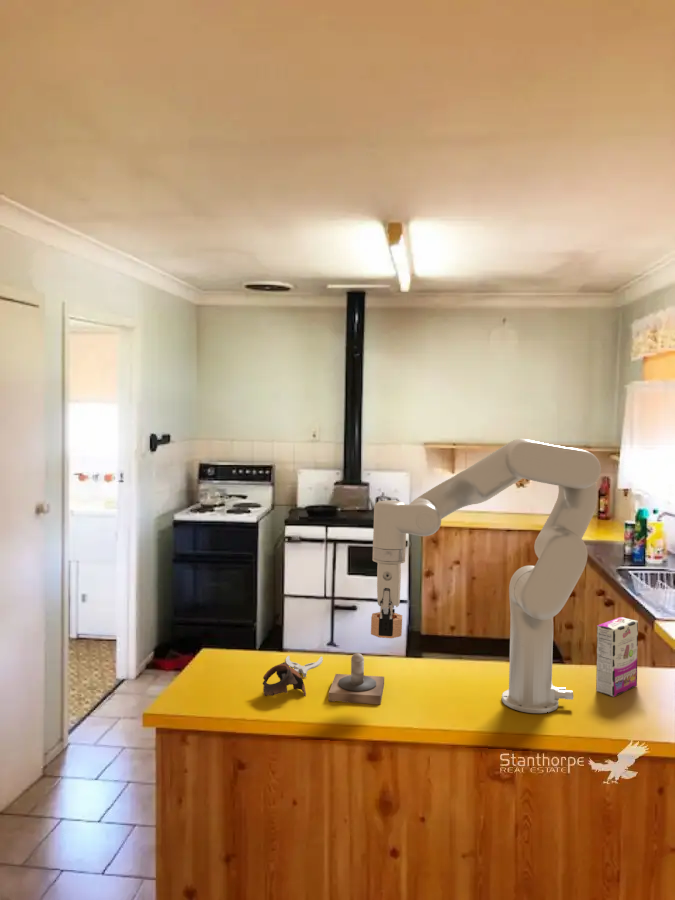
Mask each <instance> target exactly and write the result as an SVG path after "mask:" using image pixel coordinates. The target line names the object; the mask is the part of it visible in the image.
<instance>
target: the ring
mask: <svg viewBox="0 0 675 900" xmlns="http://www.w3.org/2000/svg"><path fill="white" fill-rule="evenodd" d="M379 618H380V611H379V612H373V613H372V614H371V616H370V619H371V621H370V635H372V636H374V637H377V638H382V639H384V638H385V639H395V638H400V637H402V634H403V615H402V614H399V613H396V612H395V613H394V612H392V618H393V635H392V636H379Z"/></svg>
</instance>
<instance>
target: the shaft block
mask: <svg viewBox="0 0 675 900" xmlns="http://www.w3.org/2000/svg"><path fill="white" fill-rule="evenodd" d="M350 660H351V661H350V664H351V665H350V672H351V673H350V674H345V673H342V674H341V673H335V675H334V677H333V680H332V683H331V686H330V687H329V688H330V689H329V691H328V702H335V701H342V702H341V703H352V704H353V703H354V704H368V705H369V704H370V705H381V704H382V699H383V694H384V693H383V692H384V686H385V676H383V675H382V676H379V675H366V674H365V675H364V672H365V658H364V655H362V653H359V652H356V653H353V654H352V656H351V658H350Z"/></svg>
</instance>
